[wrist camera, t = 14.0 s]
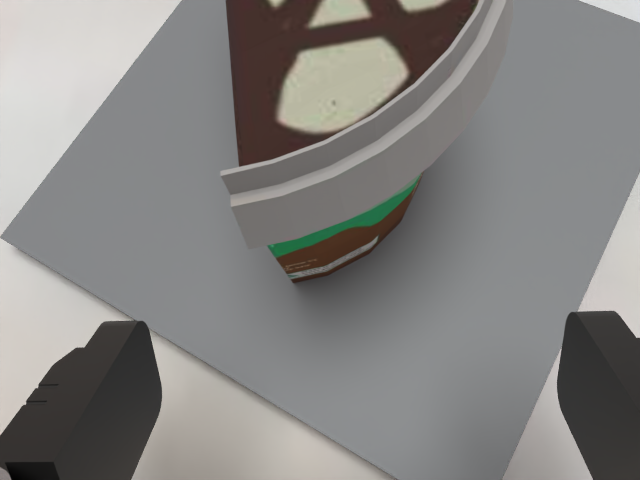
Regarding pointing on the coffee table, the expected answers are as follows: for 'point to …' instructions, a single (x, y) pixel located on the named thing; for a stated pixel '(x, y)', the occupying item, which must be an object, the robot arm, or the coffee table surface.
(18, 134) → the coffee table surface
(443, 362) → the slate board
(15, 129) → the coffee table surface
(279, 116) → the food container
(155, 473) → the coffee table surface
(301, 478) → the coffee table surface
